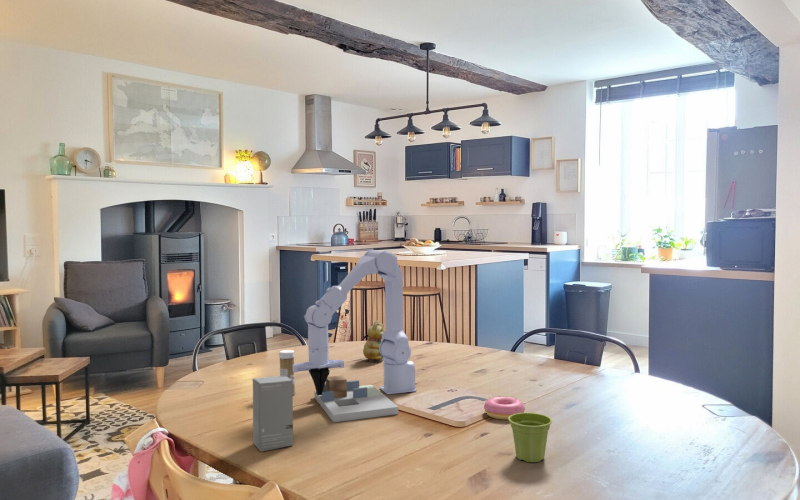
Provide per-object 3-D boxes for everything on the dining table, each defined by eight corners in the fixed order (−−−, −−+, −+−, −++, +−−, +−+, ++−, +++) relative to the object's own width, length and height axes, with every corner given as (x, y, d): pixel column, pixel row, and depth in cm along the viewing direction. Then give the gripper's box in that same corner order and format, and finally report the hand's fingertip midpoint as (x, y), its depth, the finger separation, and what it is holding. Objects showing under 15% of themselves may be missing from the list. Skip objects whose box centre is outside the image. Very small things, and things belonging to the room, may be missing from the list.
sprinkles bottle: (297, 395, 184) (296, 351, 183) (283, 397, 182) (282, 353, 181) (291, 391, 188) (290, 348, 187) (277, 394, 185) (276, 350, 185)
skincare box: (259, 452, 139) (258, 384, 138) (252, 442, 145) (250, 377, 144) (295, 446, 143) (294, 379, 142) (286, 436, 149) (285, 372, 148)
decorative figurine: (384, 363, 224) (384, 322, 223) (362, 363, 224) (361, 323, 223) (385, 357, 233) (385, 318, 233) (364, 357, 234) (363, 318, 233)
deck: (372, 391, 188) (371, 376, 187) (398, 414, 165) (398, 397, 165) (314, 397, 182) (314, 382, 181) (333, 422, 159) (333, 405, 159)
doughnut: (527, 410, 167) (527, 395, 167) (521, 423, 157) (521, 407, 157) (488, 407, 171) (488, 392, 171) (480, 419, 160) (480, 404, 160)
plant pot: (503, 450, 138) (503, 412, 138) (544, 448, 139) (544, 411, 139) (514, 467, 129) (514, 426, 129) (558, 465, 130) (558, 425, 130)
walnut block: (342, 392, 180) (342, 375, 179) (346, 396, 175) (346, 379, 175) (325, 393, 178) (325, 377, 178) (329, 398, 173) (329, 381, 173)
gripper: (295, 352, 168) (296, 400, 169) (346, 348, 173) (347, 395, 173) (291, 347, 175) (292, 394, 175) (340, 343, 179) (341, 388, 180)
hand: (319, 394), depth 175 cm, fingers closed
